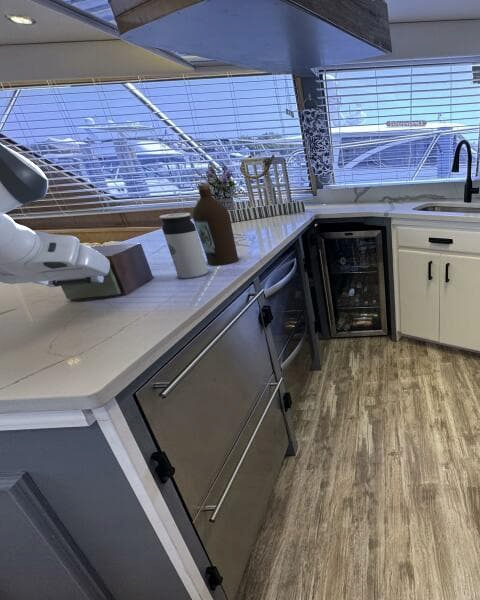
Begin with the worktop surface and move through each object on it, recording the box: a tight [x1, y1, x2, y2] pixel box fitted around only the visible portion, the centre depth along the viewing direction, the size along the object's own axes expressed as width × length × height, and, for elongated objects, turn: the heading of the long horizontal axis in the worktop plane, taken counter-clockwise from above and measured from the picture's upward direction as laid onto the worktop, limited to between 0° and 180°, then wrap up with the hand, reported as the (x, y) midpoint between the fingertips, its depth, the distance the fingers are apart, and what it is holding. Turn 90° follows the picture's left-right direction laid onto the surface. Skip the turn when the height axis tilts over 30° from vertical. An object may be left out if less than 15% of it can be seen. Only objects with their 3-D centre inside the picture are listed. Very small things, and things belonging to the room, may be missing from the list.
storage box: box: [70, 242, 154, 301], centre depth 88 cm, size 15×13×11 cm
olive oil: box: [192, 184, 239, 266], centre depth 106 cm, size 11×11×25 cm
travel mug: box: [159, 212, 209, 279], centre depth 95 cm, size 8×8×18 cm
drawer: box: [57, 265, 121, 300], centre depth 84 cm, size 18×11×9 cm, turn 12°
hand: (78, 282), depth 77 cm, fingers open, 8 cm apart
